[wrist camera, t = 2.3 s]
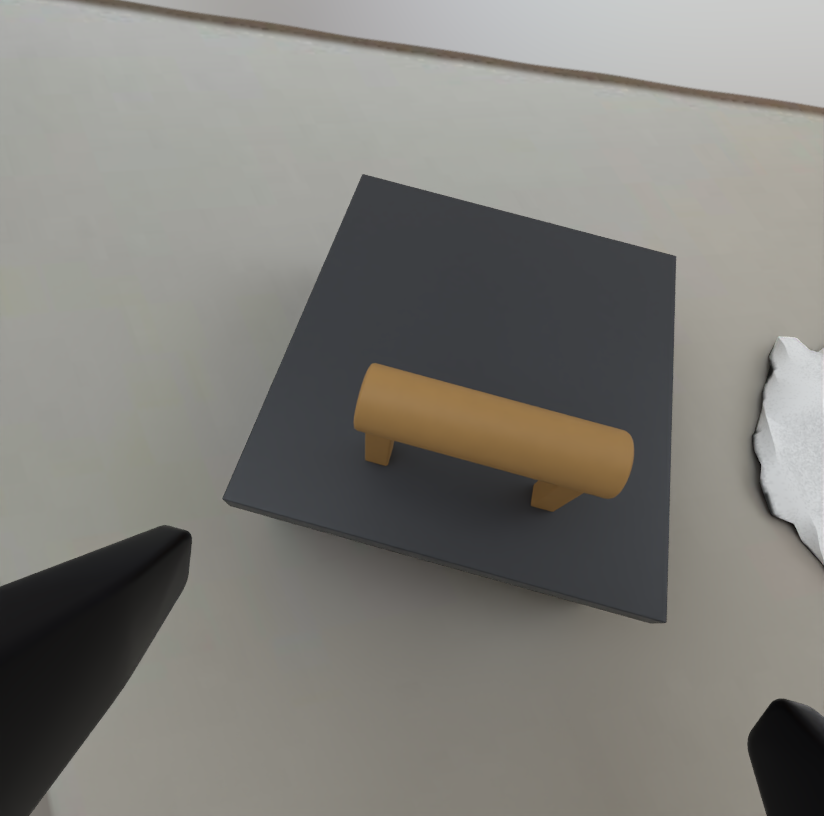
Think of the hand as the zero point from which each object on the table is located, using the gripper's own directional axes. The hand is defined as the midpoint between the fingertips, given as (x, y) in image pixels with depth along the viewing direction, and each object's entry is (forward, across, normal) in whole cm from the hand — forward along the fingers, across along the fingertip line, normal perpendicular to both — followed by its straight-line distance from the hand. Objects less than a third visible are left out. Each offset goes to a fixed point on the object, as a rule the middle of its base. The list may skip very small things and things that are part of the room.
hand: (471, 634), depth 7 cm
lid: (+11, 0, -1) cm, 11 cm away
